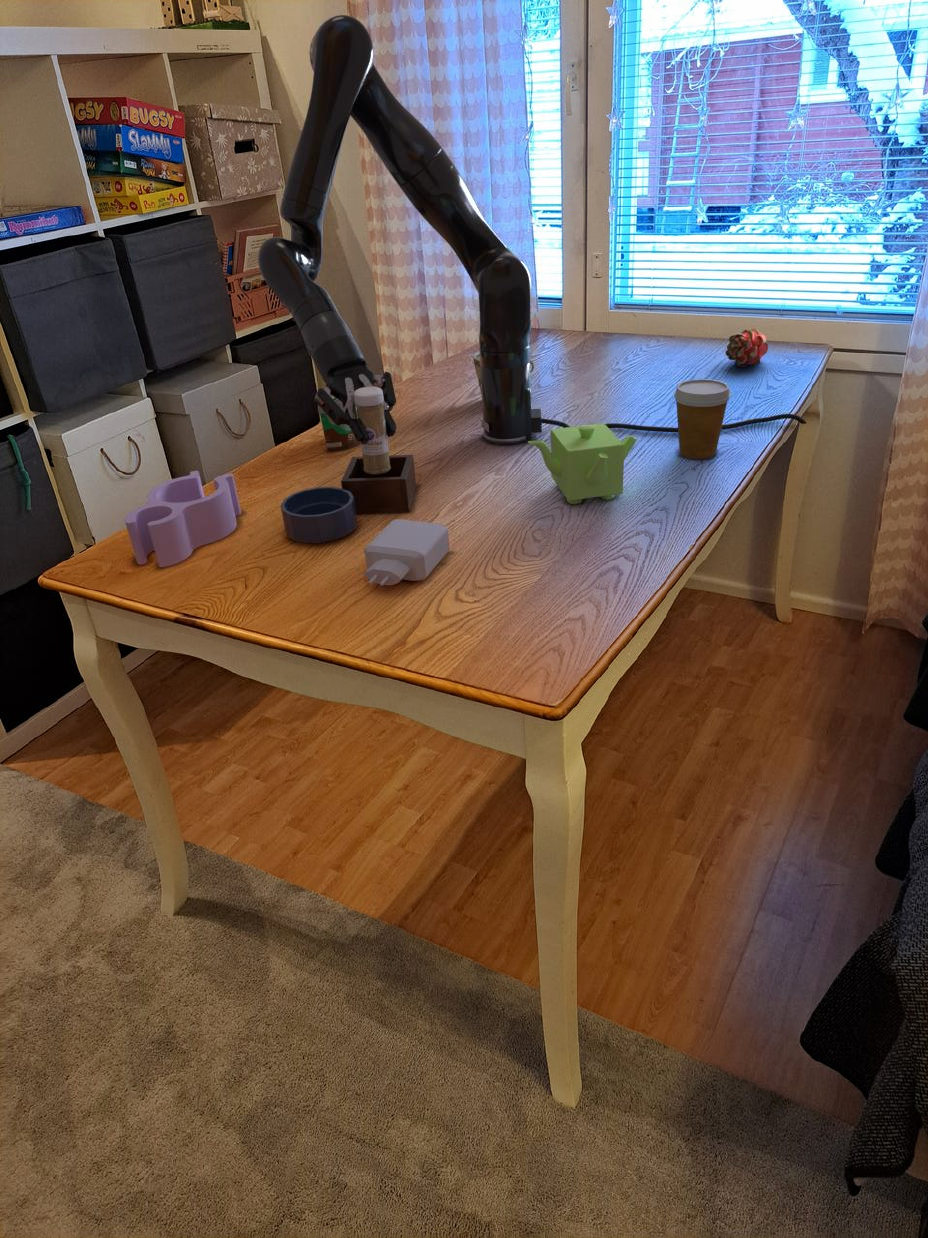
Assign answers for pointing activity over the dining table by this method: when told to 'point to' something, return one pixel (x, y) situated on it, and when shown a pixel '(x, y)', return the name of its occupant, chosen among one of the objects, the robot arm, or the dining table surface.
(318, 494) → the bowl
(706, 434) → the disposable coffee cup
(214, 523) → the clip
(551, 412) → the dining table surface
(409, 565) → the charger
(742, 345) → the dragon fruit
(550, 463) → the kettle
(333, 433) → the food container
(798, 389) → the dining table surface
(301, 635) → the dining table surface
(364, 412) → the sprinkles bottle
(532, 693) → the dining table surface
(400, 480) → the box
